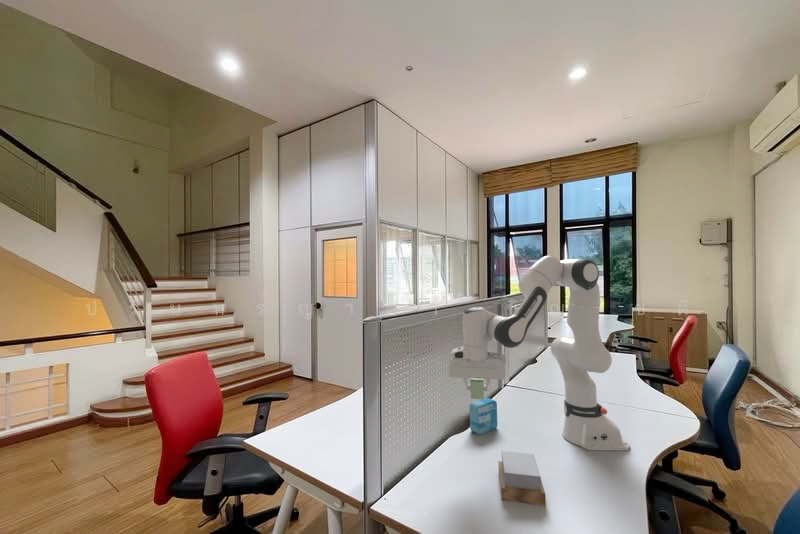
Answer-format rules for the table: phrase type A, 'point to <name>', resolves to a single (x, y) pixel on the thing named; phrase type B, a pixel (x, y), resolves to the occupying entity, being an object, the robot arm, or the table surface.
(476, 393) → the sage block
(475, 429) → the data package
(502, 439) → the table surface
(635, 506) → the table surface
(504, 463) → the tower top
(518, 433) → the table surface
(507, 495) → the tower base
